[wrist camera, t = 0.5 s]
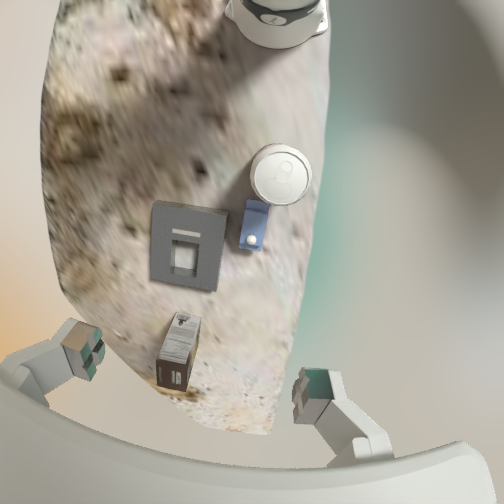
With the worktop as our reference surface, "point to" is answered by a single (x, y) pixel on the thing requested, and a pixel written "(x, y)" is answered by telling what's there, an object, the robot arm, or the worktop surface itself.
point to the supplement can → (280, 175)
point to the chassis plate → (189, 230)
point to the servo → (254, 225)
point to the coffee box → (178, 352)
